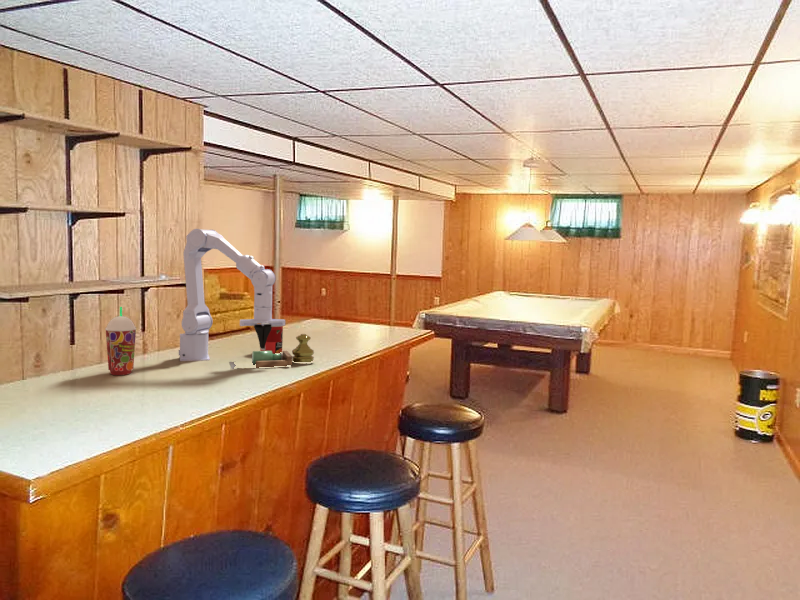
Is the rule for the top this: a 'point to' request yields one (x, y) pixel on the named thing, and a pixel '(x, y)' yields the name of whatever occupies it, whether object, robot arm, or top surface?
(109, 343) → the smoothie
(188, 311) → the robot arm
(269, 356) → the bottle
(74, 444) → the top surface
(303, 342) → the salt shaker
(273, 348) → the canned food
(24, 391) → the top surface
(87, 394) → the top surface
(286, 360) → the cradle
